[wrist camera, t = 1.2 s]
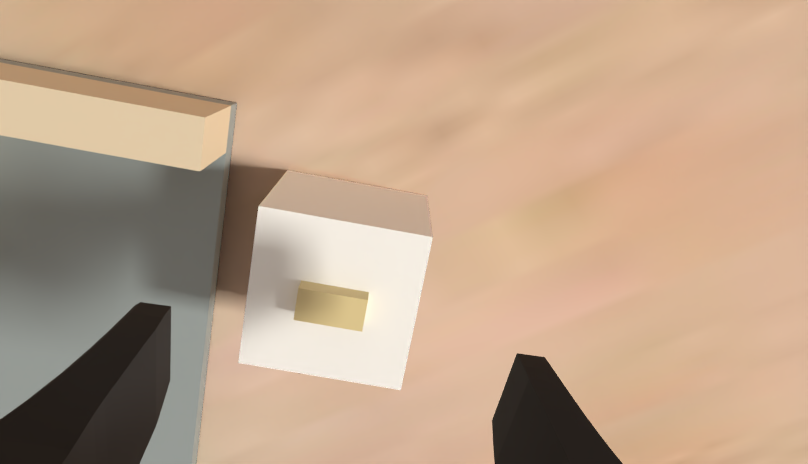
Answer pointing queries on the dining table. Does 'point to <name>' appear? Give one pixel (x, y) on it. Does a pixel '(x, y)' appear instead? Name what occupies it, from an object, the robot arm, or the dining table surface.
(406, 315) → the cabinet block
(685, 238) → the dining table surface
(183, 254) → the board
